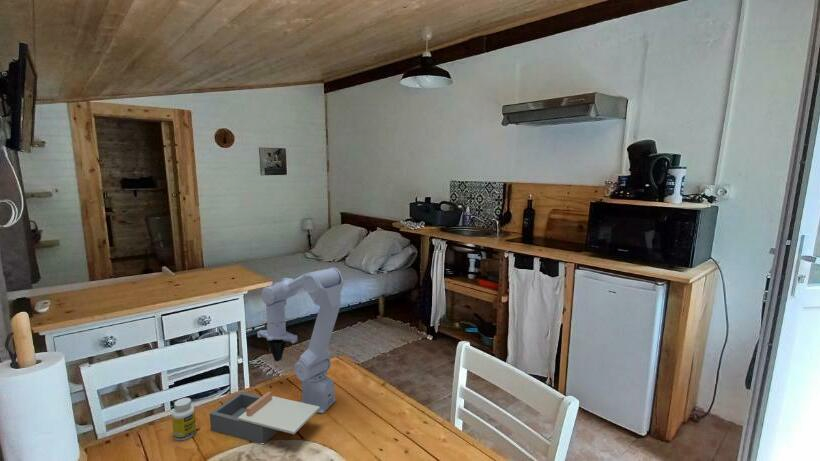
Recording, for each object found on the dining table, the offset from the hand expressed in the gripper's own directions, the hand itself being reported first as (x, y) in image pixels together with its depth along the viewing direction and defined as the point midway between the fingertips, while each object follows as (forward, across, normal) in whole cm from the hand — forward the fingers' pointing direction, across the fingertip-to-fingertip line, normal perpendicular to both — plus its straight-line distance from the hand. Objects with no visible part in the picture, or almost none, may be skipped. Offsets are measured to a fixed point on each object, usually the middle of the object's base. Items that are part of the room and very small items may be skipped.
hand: (278, 359), depth 135 cm
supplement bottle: (+10, -8, -30) cm, 32 cm away
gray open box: (+9, +6, -20) cm, 23 cm away
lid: (+4, +16, -20) cm, 26 cm away
